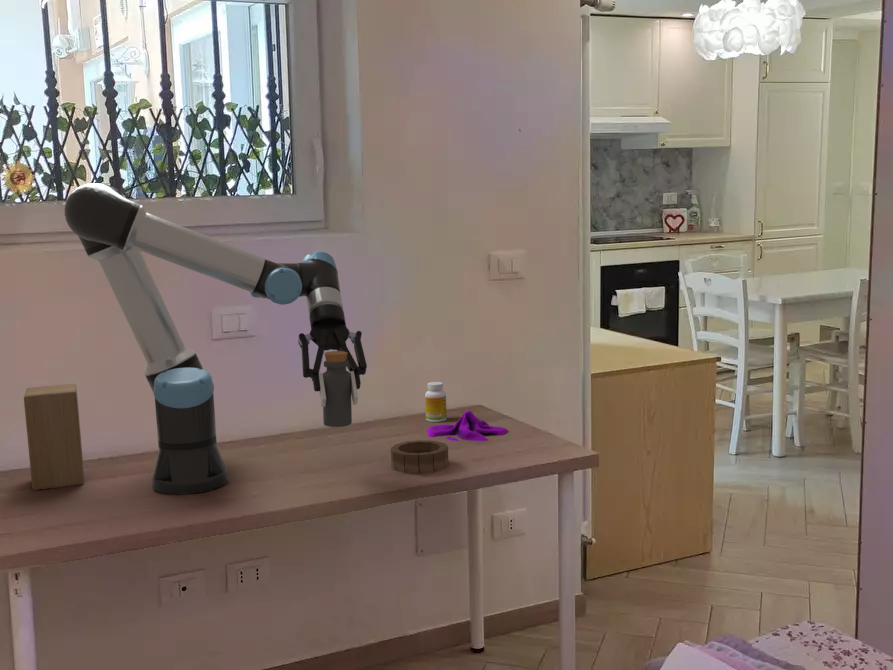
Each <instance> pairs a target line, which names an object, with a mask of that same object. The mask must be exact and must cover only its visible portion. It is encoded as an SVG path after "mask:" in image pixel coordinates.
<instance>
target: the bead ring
mask: <svg viewBox="0 0 893 670" xmlns="http://www.w3.org/2000/svg"><path fill="white" fill-rule="evenodd" d="M390 463H391V464H390V467H391V468H392V469H393V470H394V471H395V472H396V471H397V472H401V473H404V474H417V475H418V474H429V473H435V472H438V471H439V472H440V471H442V470H445V469H446V468H447V467H448V466H449V446H448V445H447V444H446V443H445V442H441V441H437V440H426V439H425V440H424V439H423V440H422V439H419V440H410V441H409V440H407V441H403V442H400V443H399V442H398V443H396V444H394V445H393V446H391V447H390Z"/></svg>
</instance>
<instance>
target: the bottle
mask: <svg viewBox="0 0 893 670" xmlns="http://www.w3.org/2000/svg"><path fill="white" fill-rule="evenodd" d="M323 355H324V358H325V360H324V361H323V366H324V368H326V371H325V372H322V373H323V380H324V387H325V394H326V404H325V407H322V417H323V425H324V426H325V427H329V428H330V427H331V428H340V427H341V428H343V427H347V426H350V425H352V423H353V422H352V414H353V413H352V412H353V410H352V395H351V374H350V371H349V370H347V366H349V361H347V360H346V358H347V352H344V351H337V350H333V351H330V350H329V351H327V352H324V354H323Z"/></svg>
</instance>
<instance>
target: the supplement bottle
mask: <svg viewBox="0 0 893 670" xmlns="http://www.w3.org/2000/svg"><path fill="white" fill-rule="evenodd" d="M427 389H428V390H427V391H425V394H424V395H425V399H424V400H425V402H424V403H425V421H427V422H431V423H440V422H445V421H446V420H447V417H448V416H447V415H448V414H447V392H446V391H444V390H443V389H444V383H443V382H441V381H430V382H427Z"/></svg>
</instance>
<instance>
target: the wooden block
mask: <svg viewBox="0 0 893 670" xmlns="http://www.w3.org/2000/svg"><path fill="white" fill-rule="evenodd" d="M24 392H25V393H24V396H23V403H24V416H25V425H26V426H25V427H26V436H27V446H28V457H29V467H30V478H31V488H32V490H33V491H40V490H39V489H43V490H48V489H47V488H51V489H57V487H59V488H65V486H67V487H73V486H81V485H84V484H85V469H84V457H83V448H82V447H83V445H82V435H81V434H82V433H81V423H80V413H79V412H80V411H79V402H78V401H79V400H78V389H77V384H76V383H69V384H68V383H67V384H57V385H55V384H54V385H46V386H45V385H44V386H33V387H27V388H26V390H25V391H24Z"/></svg>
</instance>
